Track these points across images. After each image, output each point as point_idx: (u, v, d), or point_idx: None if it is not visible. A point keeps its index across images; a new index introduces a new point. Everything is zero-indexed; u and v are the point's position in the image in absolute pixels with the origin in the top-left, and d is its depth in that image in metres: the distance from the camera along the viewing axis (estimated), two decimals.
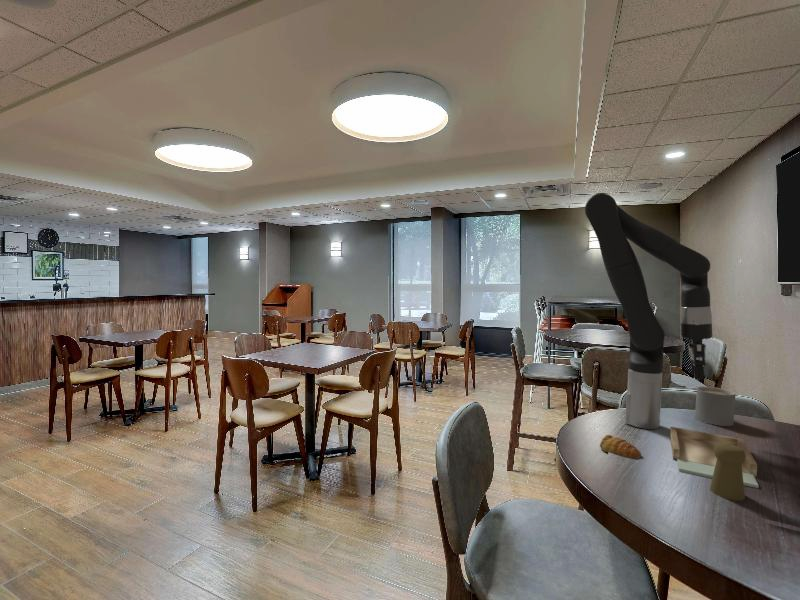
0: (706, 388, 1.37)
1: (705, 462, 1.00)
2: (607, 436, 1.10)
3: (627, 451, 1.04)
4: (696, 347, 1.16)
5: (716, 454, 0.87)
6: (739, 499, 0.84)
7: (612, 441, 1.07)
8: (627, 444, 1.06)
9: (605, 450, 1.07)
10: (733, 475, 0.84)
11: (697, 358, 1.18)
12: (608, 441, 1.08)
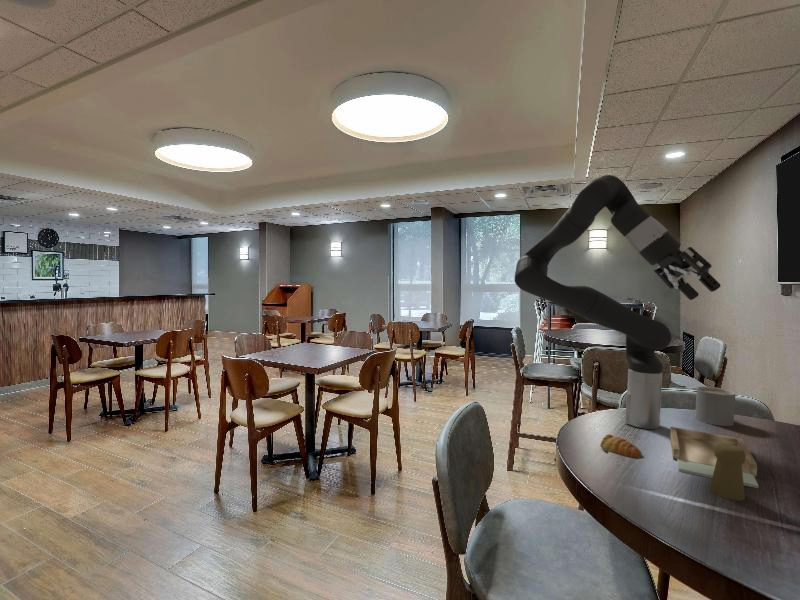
0: (706, 388, 1.37)
1: (705, 462, 1.00)
2: (608, 435, 1.10)
3: (628, 451, 1.04)
4: (686, 254, 0.87)
5: (716, 454, 0.87)
6: (739, 499, 0.84)
7: (613, 440, 1.08)
8: (627, 443, 1.06)
9: (606, 449, 1.08)
10: (733, 475, 0.84)
11: (693, 269, 0.90)
12: (609, 441, 1.08)
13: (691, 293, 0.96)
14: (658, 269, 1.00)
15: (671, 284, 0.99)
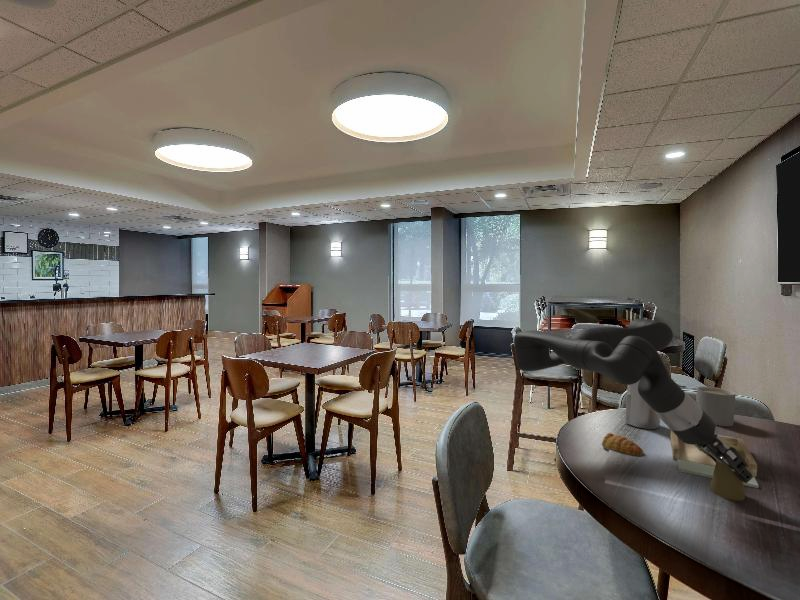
0: (706, 388, 1.37)
1: (705, 462, 1.00)
2: (609, 434, 1.11)
3: (630, 449, 1.05)
4: (730, 457, 0.80)
5: None
6: (739, 499, 0.84)
7: (614, 439, 1.09)
8: (629, 442, 1.08)
9: (608, 448, 1.08)
10: (733, 475, 0.84)
11: None
12: (610, 440, 1.09)
13: None
14: None
15: None
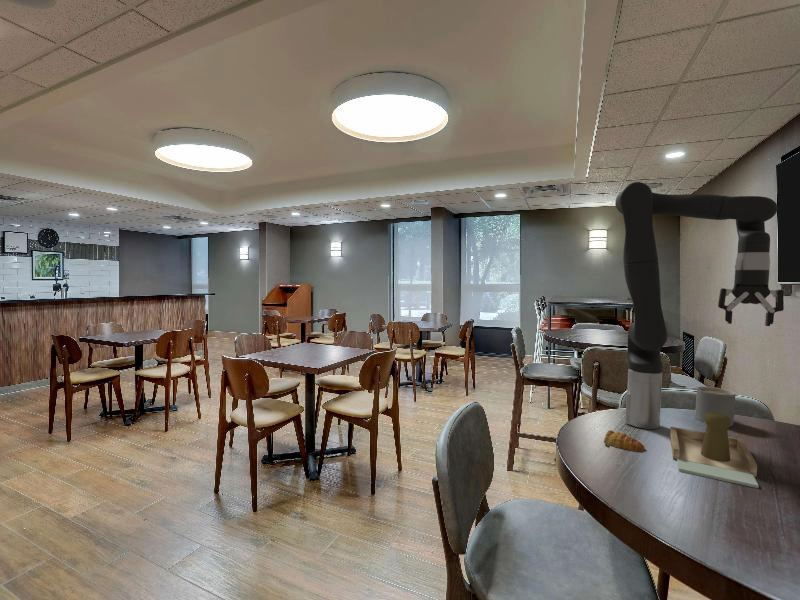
0: (706, 388, 1.37)
1: (705, 462, 1.00)
2: (609, 431, 1.13)
3: (633, 445, 1.08)
4: None
5: (706, 421, 1.03)
6: (725, 457, 1.01)
7: (616, 436, 1.11)
8: (630, 438, 1.10)
9: (610, 445, 1.10)
10: (720, 437, 1.01)
11: None
12: (612, 437, 1.11)
13: None
14: (726, 290, 1.20)
15: (724, 305, 1.20)
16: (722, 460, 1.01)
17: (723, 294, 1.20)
